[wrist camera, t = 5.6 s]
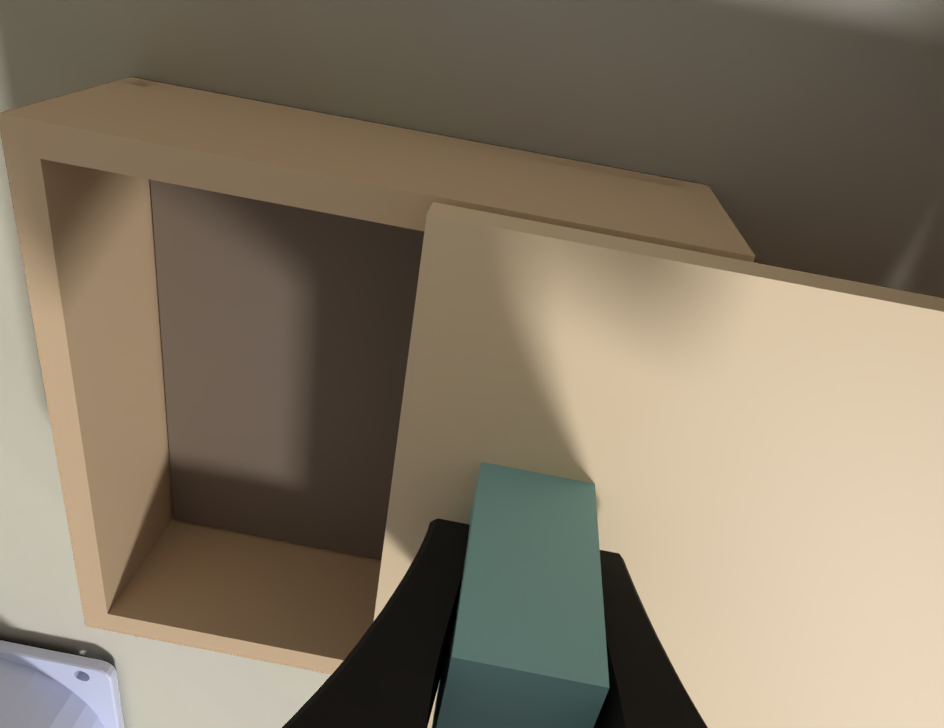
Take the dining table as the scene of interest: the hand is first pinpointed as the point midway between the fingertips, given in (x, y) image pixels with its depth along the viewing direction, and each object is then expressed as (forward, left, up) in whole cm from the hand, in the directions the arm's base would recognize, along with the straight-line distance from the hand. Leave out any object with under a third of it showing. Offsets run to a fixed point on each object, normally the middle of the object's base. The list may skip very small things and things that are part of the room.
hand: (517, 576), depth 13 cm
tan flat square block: (+3, 0, -1) cm, 4 cm away
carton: (-3, 0, -6) cm, 7 cm away
